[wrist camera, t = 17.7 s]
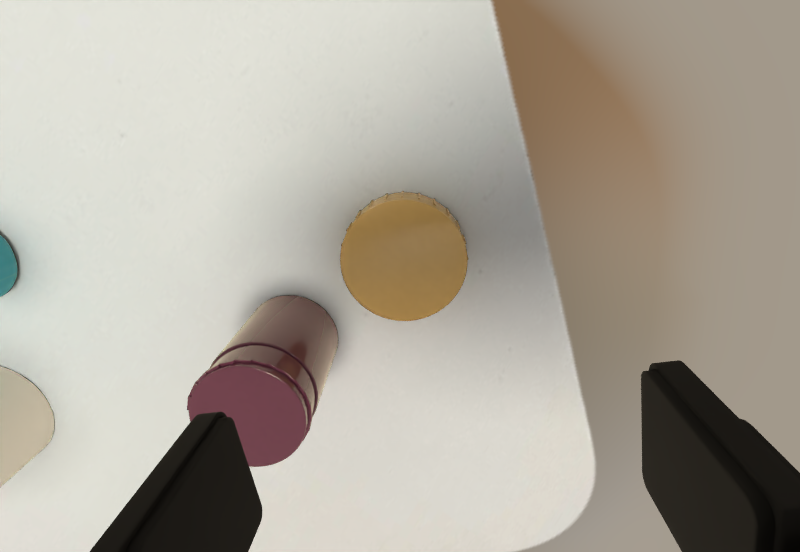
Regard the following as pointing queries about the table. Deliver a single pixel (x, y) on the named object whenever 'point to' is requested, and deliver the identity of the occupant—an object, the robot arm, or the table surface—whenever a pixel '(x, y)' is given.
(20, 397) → the cylindrical container
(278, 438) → the cream jar
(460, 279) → the jar lid
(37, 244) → the table surface
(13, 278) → the tube
